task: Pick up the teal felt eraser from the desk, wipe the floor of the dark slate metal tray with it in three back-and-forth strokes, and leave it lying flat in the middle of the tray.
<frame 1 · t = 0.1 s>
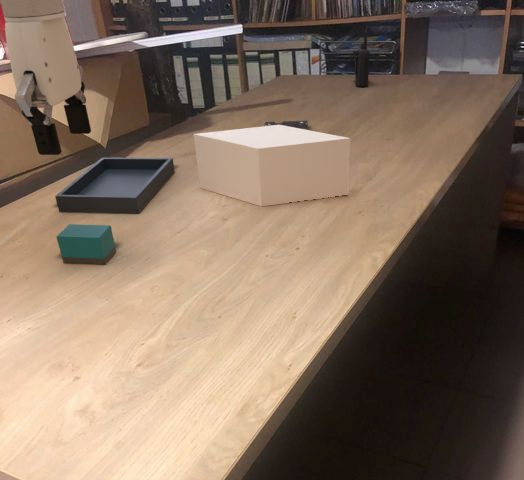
hand: (66, 143, 85), 17 cm above the table, tool pointing down, fingers open, 9 cm apart
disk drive: (286, 142, 137), on the table
white rectangular box: (271, 192, 112), on the table
tray: (120, 190, 117), on the table
eraser: (90, 257, 93), on the table
two-way radio: (359, 86, 178), on the table
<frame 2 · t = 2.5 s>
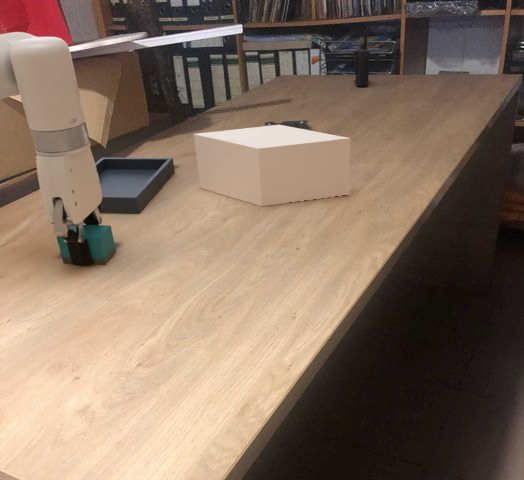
hand: (89, 255, 93), 0 cm above the table, tool pointing down, fingers closed on eraser, 4 cm apart
eraser: (90, 257, 93), on the table, touching gripper
everything else where it was.
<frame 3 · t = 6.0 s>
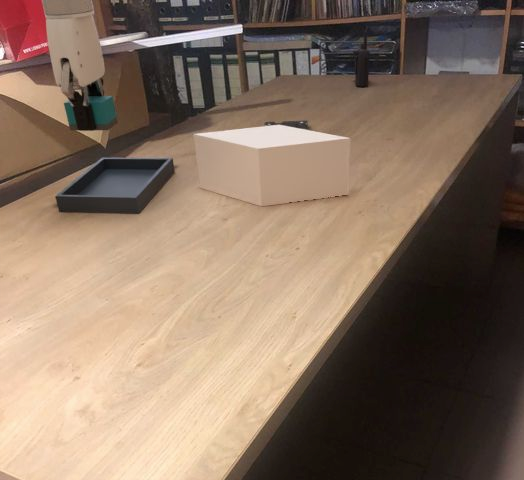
hand: (93, 124, 103), 14 cm above the table, tool pointing down, fingers closed on eraser, 4 cm apart
eraser: (94, 126, 104), point 14 cm above the table, touching gripper
everything else where it was.
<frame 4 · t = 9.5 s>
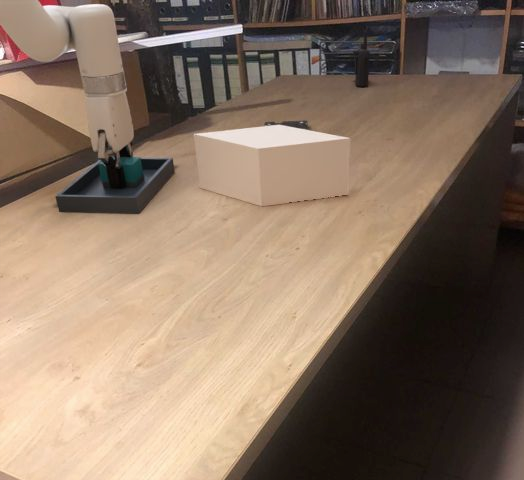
hand: (123, 181, 118), 1 cm above the table, tool pointing down, fingers closed on eraser, 4 cm apart
eraser: (123, 183, 118), point 1 cm above the table, touching gripper
everything else where it was.
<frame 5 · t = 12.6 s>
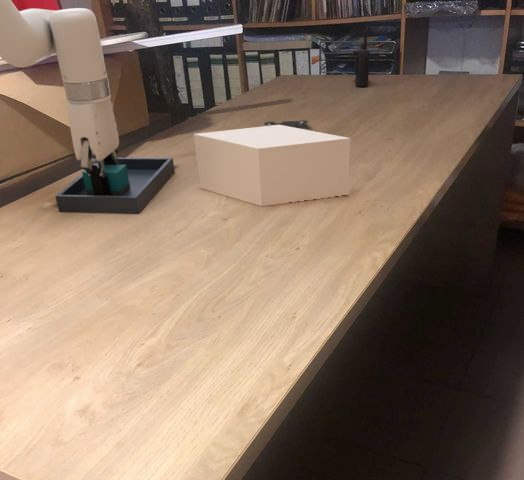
hand: (108, 190, 114), 1 cm above the table, tool pointing down, fingers closed on eraser, 4 cm apart
eraser: (109, 191, 114), point 1 cm above the table, touching gripper
everything else where it was.
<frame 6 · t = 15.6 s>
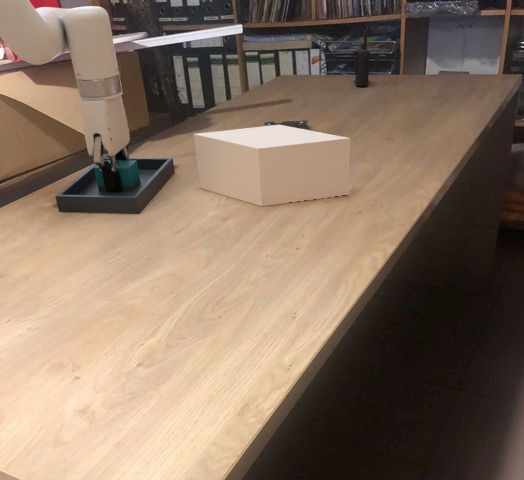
hand: (119, 185, 116), 1 cm above the table, tool pointing down, fingers closed on eraser, 4 cm apart
eraser: (119, 186, 116), point 1 cm above the table, touching gripper
everything else where it was.
when the fingers open (1 cm above the table, at t = 16.7 s): eraser stays where it is, resting on tray.
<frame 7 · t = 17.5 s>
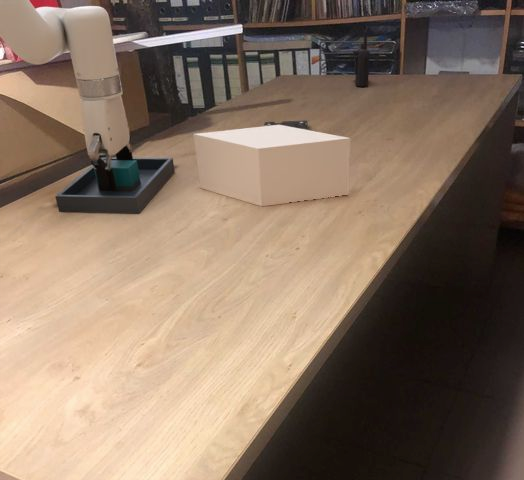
hand: (118, 181, 116), 2 cm above the table, tool pointing down, fingers open, 9 cm apart
eraser: (120, 186, 116), point 1 cm above the table, touching tray
everything else where it was.
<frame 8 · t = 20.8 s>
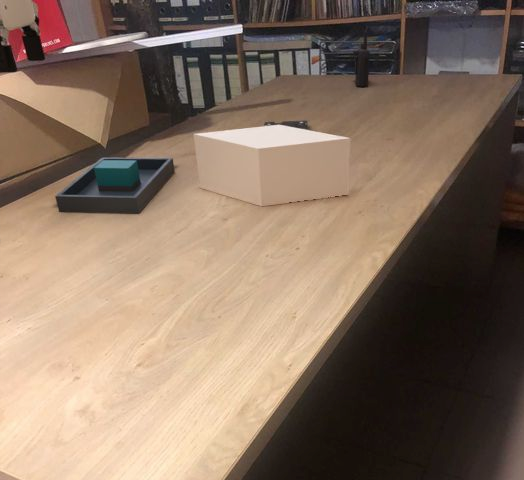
hand: (23, 65, 103), 23 cm above the table, tool pointing down, fingers open, 9 cm apart
nothing on the table moved.
at the end: eraser inside the target area in the tray (0.1 cm from its centre), point 0.8 cm above the tray's base; eraser tilted 0°; eraser moved 28.6 cm from its start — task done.
